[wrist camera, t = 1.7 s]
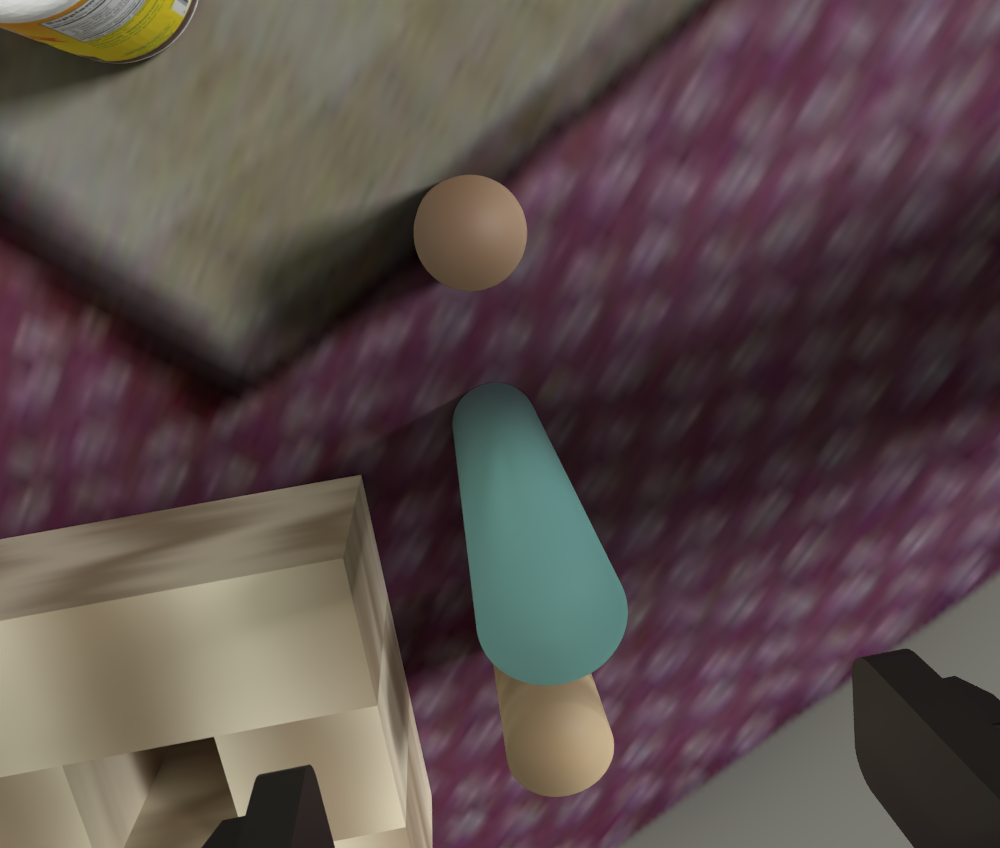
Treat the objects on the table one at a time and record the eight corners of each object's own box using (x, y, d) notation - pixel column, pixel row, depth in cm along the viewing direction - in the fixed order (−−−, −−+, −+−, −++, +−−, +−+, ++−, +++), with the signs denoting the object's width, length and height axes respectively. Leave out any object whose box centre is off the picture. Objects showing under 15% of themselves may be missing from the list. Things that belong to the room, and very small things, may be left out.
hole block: (361, 474, 30) (342, 558, 23) (431, 796, 34) (433, 947, 27) (-35, 545, 29) (-171, 652, 23) (84, 863, 33) (-2, 1035, 27)
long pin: (529, 375, 29) (618, 535, 16) (541, 455, 30) (635, 670, 17) (445, 390, 29) (463, 563, 16) (460, 470, 30) (489, 698, 17)
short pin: (498, 170, 27) (518, 166, 22) (512, 262, 28) (534, 281, 23) (407, 185, 27) (403, 185, 22) (424, 276, 28) (424, 299, 22)
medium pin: (556, 554, 31) (607, 694, 23) (567, 625, 32) (619, 785, 24) (478, 569, 31) (498, 715, 23) (491, 639, 32) (516, 805, 23)
